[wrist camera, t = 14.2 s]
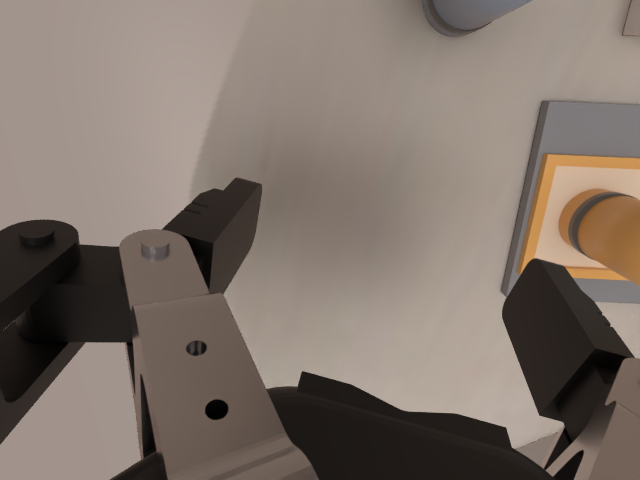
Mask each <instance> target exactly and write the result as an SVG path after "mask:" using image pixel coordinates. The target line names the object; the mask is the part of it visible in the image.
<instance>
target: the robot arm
mask: <svg viewBox="0 0 640 480" xmlns="http://www.w3.org/2000/svg"><path fill="white" fill-rule="evenodd" d="M261 194H262V185H261V184H259V183H256V182H252V181H248V180H244V179H241V178H235V179H234V180H233V181H232V182H231V183H230V184H229V185H228V186H227V187H226V188H225V189H224V190H223V191H222V190H218V189H212V190H209V191H206V192H203V193H201V194H199V195H198V196H197V197H196V198H195V199H194V200H193V201H192V203H190V204H189V205H188V206H186V207H185V208H184V210H182V211H181V212H180V213H179V214H178V215H177V216H176V217H175V218H174V219H172V220H171V221H170V222H169V223H168V224H167V225H166V226H165V227H164V228H163V229H162V230H157V229H153V230H143V231H139V232H136V233H133V234H131V235H129V236H127V237H126V238H125V239H123V240H122V242H121V243H120V246H119V247H109V246H94V245H80V244H79V236H78V232H77V230H76V229H75V228H74V227H73V226H71V225H69V224H67V223H64V222H61V221H55V220H31V221H26V222H20V223H17V224H14V225H11V226H9V227H7V228H5V229H3V230H1V231H0V444H1V443H2V442H3V441H4V439H5V438H6V437H7V436H8V435H9V433H10V432H11V431H12V430H13V429H14V427H15V426H16V425H17V424H18V423H19V421H20V420H21V419H22V418H23V417H24V415H25V414H26V413H27V412H28V411H29V409H30V408H31V407H32V406H33V405H34V403H35V402H36V401H37V400H38V399H39V397H40V396H41V395H42V394H43V393H44V391H45V390H46V389H47V388H48V387H49V386H50V384H51V383H52V382H53V381H54V380H55V378H56V377H57V376H58V375H59V373H60V372H61V371H62V370H63V368H64V367H65V366H66V365H67V364H68V363H69V362H70V360H71V359H72V358H73V357H74V355H75V354H76V353H77V352H78V351H79V350H80V348H81V347H82V346H83V345H84V344H85V342H125V347H126V354H127V361H128V367H129V373H130V379H131V386H132V392H133V399H134V405H135V412H136V421H137V432H138V440H139V448H140V456H141V460H140V461H139V462H137V463H136V464H134V465H132V466H131V467H129V468H128V469H126V470H125V471H123V472H121V473H120V474H118V475H117V476H115V477H113V478H112V479H110V480H640V359H638V358H635V357H634V356H633V354H632V353H631V352H630V350H629V349H628V348H627V346H626V345H625V343H624V342H623V341H622V339H621V338H620V337H619V335H618V334H617V332H616V331H615V330H614V328H613V327H610V325H611V324H610V323H609V321H608V320H607V319H606V317H605V316H603V315H602V312H601V311H600V309H599V308H598V306H597V305H596V304H595V302H594V301H593V300H592V299H591V298H590V297H589V296H588V295H586V294H585V293H584V292H583V291H582V290H581V289H580V287H579V286H578V285H577V283H576V282H575V280H574V279H573V278H572V276H571V275H570V273H569V272H568V271H567V269H566V268H565V267H564V266H563V265H560V264H556V263H552V262H548V261H545V260H541V259H537V258H534V259H532V260H530V261H529V262H528V264H527V265H526V267H525V268H524V270H523V272H522V273H521V275H520V277H519V278H518V280H517V281H516V283H515V285H514V286H513V288H512V290H511V291H510V293H509V295H508V296H507V298H506V300H505V302H504V305H503V310H502V318H503V321H504V324H505V327H506V329H507V332H508V335H509V337H510V340H511V342H512V345H513V348H514V350H515V353H516V355H517V358H518V361H519V363H520V366H521V369H522V371H523V374H524V376H525V379H526V382H527V384H528V387H529V389H530V392H531V395H532V397H533V400H534V403H535V405H536V408H537V410H538V413H539V415H540V416H543V417H547V418H550V419H554V420H558V421H561V422H563V423H564V426H563V428H562V429H561V430H560V431H559V432H558V433H557V434H556V436H555V438H554V440H553V442H552V443H551V445H550V447H549V449H548V451H547V453H546V455H545V457H544V459H543V461H542V463H541V465H540V466H539V465H538V464H537V463H535V462H534V461H533V460H531V459H530V458H528V457H527V456H525V455H524V454H522V453H520V452H519V451H517V450H515V449H513V448H512V447H511V443H510V440H509V436H508V433H507V429H506V427H502V426H498V425H495V424H491V423H488V422H484V421H480V420H477V419H473V418H470V417H466V416H462V415H459V414H453V413H428V412H407V411H403V410H400V409H398V408H396V407H394V406H392V405H390V404H388V403H386V402H384V401H382V400H380V399H378V398H377V397H375V396H373V395H371V394H369V393H367V392H365V391H363V390H361V389H359V388H357V387H355V386H353V385H351V384H347V383H343V382H340V381H336V380H333V379H329V378H325V377H322V376H318V375H315V374H311V373H307V372H304V371H302V373H301V377H300V380H299V384H298V387H292V386H286V387H275V388H269V389H266V388H265V385H264V383H263V381H262V379H261V377H260V374H259V372H258V370H257V368H256V366H255V363H254V361H253V359H252V357H251V355H250V352H249V350H248V348H247V346H246V343H245V341H244V339H243V337H242V335H241V332H240V330H239V328H238V326H237V324H236V321H235V319H234V317H233V315H232V313H231V310H230V308H229V306H228V304H227V302H226V299H225V297H224V296H223V294H224V292H225V290H226V289H227V287H228V285H229V284H230V282H231V280H232V279H233V277H234V275H235V274H236V272H237V270H238V269H239V267H240V265H241V264H242V262H243V260H244V259H245V257H246V255H247V254H248V252H249V250H250V248H251V246H252V243H253V240H254V237H255V233H256V227H257V220H258V214H259V207H260V201H261ZM14 320H15V321H14ZM13 321H14V322H13ZM8 325H9V326H8ZM7 326H8V327H7ZM6 327H7V328H6ZM5 328H6V329H5Z"/></svg>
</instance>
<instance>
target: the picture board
mask: <svg viewBox="0 0 640 480" xmlns="http://www.w3.org/2000/svg"><path fill="white" fill-rule="evenodd" d="M590 189H606V190H610V191H613V192H619V193H623V194H626V195H630V196H633V197H635V198H637V199H639V200H640V105H625V104H602V103H580V102H557V101H542V105H541V109H540V114H539V119H538V123H537V128H536V133H535V137H534V142H533V146H532V151H531V156H530V160H529V165H528V170H527V174H526V179H525V184H524V188H523V193H522V198H521V202H520V207H519V211H518V216H517V221H516V225H515V230H514V235H513V239H512V244H511V249H510V253H509V258H508V263H507V267H506V272H505V276H504V281H503V286H502V290H501V292H502V293H503V294H504V295H505V296H506V297H507V296H508V295H509V293H510V291H511V290H512V288H513V286H514V285H515V283H516V281H517V280H518V278H519V277H520V275H521V273H522V272H523V270H524V268H525V267H526V265H527V264H528V262H529V261H530V260H532V259H534V258H537V259H541V260H545V261H548V262H552V263H556V264H560V265H563V266H564V267H565V268H566V269H567V271H568V272H569V273H570V275H571V276H572V278H573V279H574V280H575V282H576V283H577V285H578V286H579V287H580V289H581V290H582V291H583V292H584V293H585V294H586V295H588V296H589V297H590V298H591V299H592V300H593V301H594V302H614V303H635V304H640V286H638V285H636V284H635V283H633V282H631V281H630V280H628V279H626V278H624V277H623V276H621V275H619V274H618V273H616V272H614V271H612V270H611V269H609V268H607V267H606V266H604V265H602V264H600V263H599V262H597V261H595V260H592V259H590V258H588V257H587V256H585V255H583V254H581V253H580V252H578V251H577V250H576V249H575V248H573V247H571V246H570V245H568V244H567V243H566V242H565V241H564V240H563V239H562V237H561V235H560V232H559V227H558V226H559V218H560V215H561V213H562V210H563V209H564V207H565V206H566V204H567V203H568V202H569V201H570V200H571V199H572V198H574V197H575V196H576V195H578V194H580V193H582V192H584V191H587V190H590Z"/></svg>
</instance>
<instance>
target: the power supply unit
mask: <svg viewBox="0 0 640 480" xmlns="http://www.w3.org/2000/svg"><path fill="white" fill-rule="evenodd" d="M557 433H558V432H557ZM557 433H554V434H552V435H549V436H547V437H544V438H542V439H539V440H537V441H535V442H532V443H530V444H527V445H525V446H522V447H520V448H517V449H515V450H517V451H519V452H520V453H522V454H524V455H525V456H527V457H528V458H530V459H531V460H533V461H534V462H535V463H537V464H538V465H539V466H540V465H541V463H542V461H543V459H544V457H545V455H546V453H547V451H548V449H549V447H550V445H551V443H552V442H553V440H554V438H555V436H556V434H557Z"/></svg>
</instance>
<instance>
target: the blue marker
mask: <svg viewBox="0 0 640 480" xmlns="http://www.w3.org/2000/svg"><path fill="white" fill-rule="evenodd" d="M530 1H532V0H423V8H424V12H425V15H426V18H427V20H428V21H429V23H430V24H431V25H432V27H433V28H434V29H436V30H437V31H438V32H440V33H442V34H444V35H448V36H462V35H466V34H468V33H471V32H474V31H476V30H478V29H480V28H482V27H484V26H486V25H488V24H489V23H491V22H492V21H494V20H496V19H497V18H499V17H501V16H503V15H505V14H507V13H509V12H511V11H513V10H515V9H517V8H519V7H521V6H522V5H524V4H526V3H528V2H530Z"/></svg>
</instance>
